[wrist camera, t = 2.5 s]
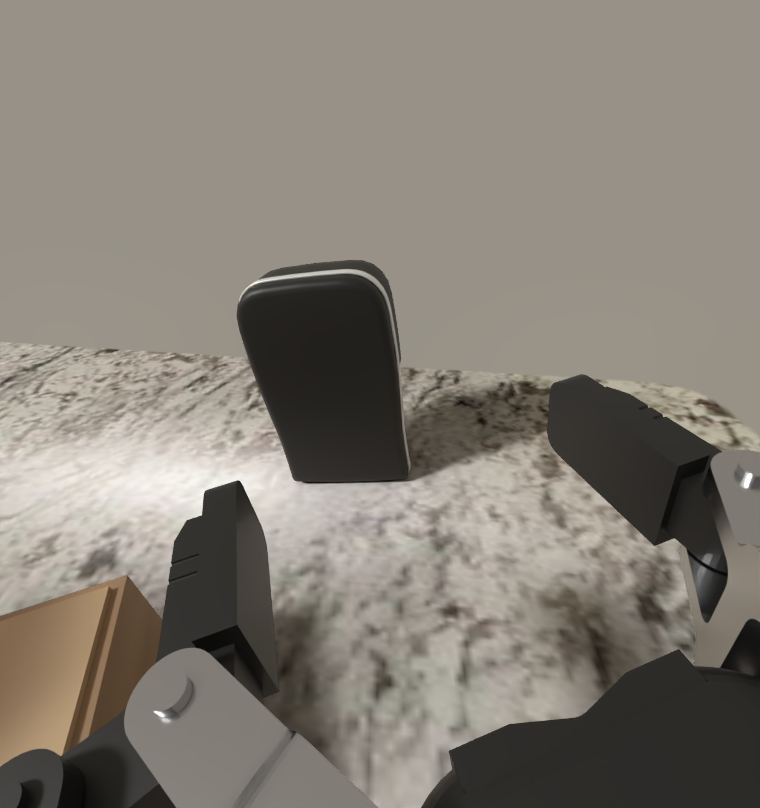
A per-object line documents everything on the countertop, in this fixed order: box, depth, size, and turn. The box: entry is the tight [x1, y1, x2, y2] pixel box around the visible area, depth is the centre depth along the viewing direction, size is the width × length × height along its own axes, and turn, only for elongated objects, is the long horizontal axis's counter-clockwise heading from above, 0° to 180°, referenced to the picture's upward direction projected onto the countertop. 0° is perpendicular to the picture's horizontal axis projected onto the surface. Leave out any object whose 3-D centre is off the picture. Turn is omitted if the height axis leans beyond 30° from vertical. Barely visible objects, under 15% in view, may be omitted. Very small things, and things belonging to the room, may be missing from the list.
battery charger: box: [237, 260, 411, 482], centre depth 22 cm, size 7×4×11 cm, turn 83°
